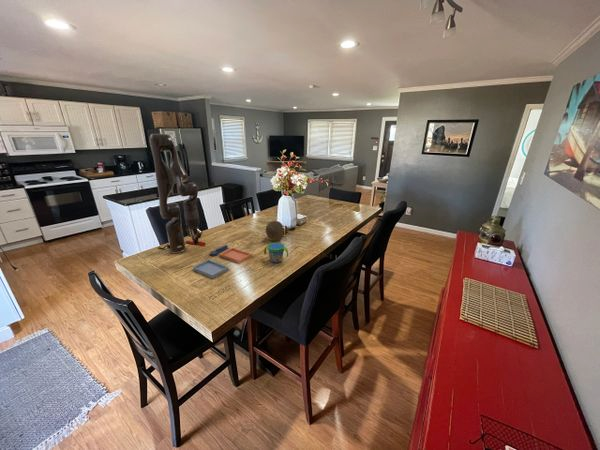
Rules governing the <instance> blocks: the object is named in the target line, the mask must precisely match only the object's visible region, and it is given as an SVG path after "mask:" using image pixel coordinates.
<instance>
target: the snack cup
mask: <svg viewBox="0 0 600 450" xmlns="http://www.w3.org/2000/svg"><path fill="white" fill-rule="evenodd" d="M267 250H268V256H269V259H270V262H271V263H276V264H278V263H281V262H282V261H283V259H284V258H283V257H284V251H285V252H286V258H288V257H289V249H288V248H287V247H285V244H284V243H281V242H271V243H269V244H267V245H266V246H265V247H264V249H263V254H264V255H267Z"/></svg>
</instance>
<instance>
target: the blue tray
mask: <svg viewBox="0 0 600 450" xmlns="http://www.w3.org/2000/svg"><path fill="white" fill-rule="evenodd" d="M192 270H193V271H194V272H197V273H199V274H201V275H202V276H206V277H208V278H209V279H215V278H217V277H219V276H220V275H222V274H224V273H226V272H228V271H229V266H227V265H225V264H222V263H220V262H218V261H217V262H216V261H214V260H212V259H206V260H205V261H202V262H200V263H198V264H196V265H194V266H192Z"/></svg>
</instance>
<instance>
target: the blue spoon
mask: <svg viewBox="0 0 600 450" xmlns="http://www.w3.org/2000/svg"><path fill="white" fill-rule="evenodd" d="M228 248H229V247H228V244H224V245H222V246H220V247H218V248H216V249H215V250H211V251H210V253H209V254H210V256H211V257H216V256H218V255H219V254H220V253H222V252H225V251H227V250H229V249H228Z"/></svg>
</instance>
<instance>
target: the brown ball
mask: <svg viewBox="0 0 600 450" xmlns="http://www.w3.org/2000/svg"><path fill="white" fill-rule="evenodd" d="M265 234H266V237H267V238H268V239H269V240H270V241H273V242H279V241H281V240H282V238H283V237H284V234H285V228H284V226H283V224H282V223H281V222H280V221H278V220H273V221H270V222H268V223H267V224H266V227H265Z"/></svg>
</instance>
